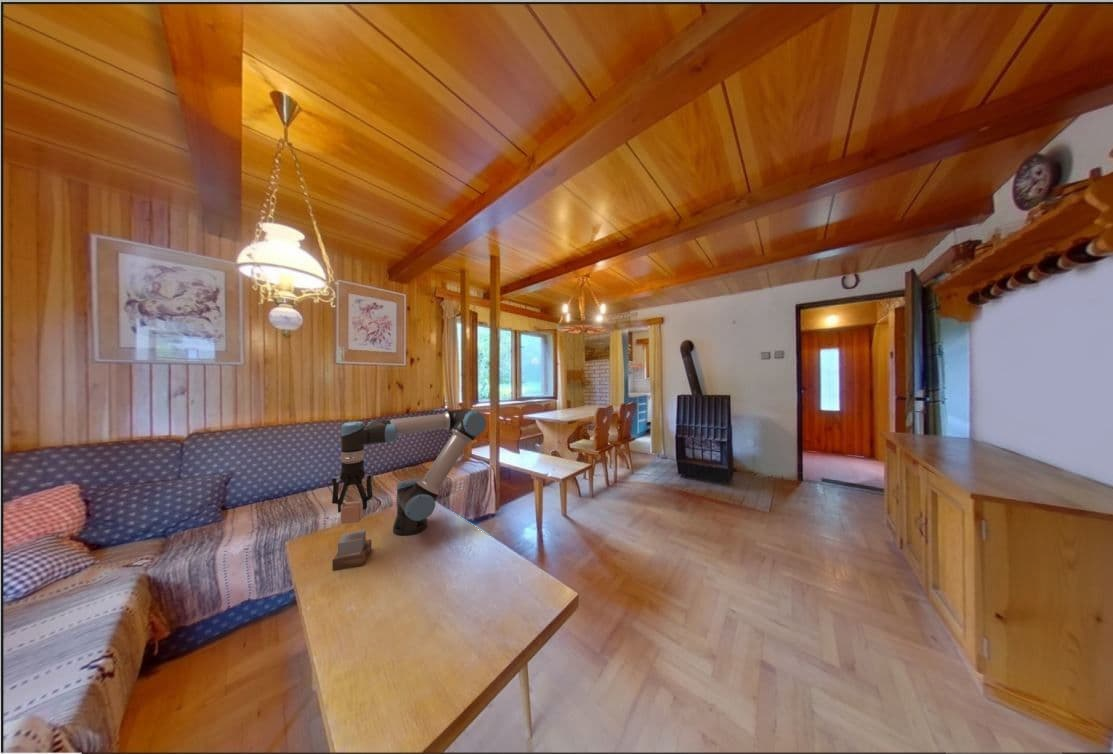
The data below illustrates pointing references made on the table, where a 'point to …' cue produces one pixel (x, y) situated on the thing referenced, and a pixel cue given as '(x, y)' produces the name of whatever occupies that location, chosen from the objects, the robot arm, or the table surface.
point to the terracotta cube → (350, 512)
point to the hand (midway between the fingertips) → (352, 518)
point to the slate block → (351, 543)
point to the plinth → (352, 558)
